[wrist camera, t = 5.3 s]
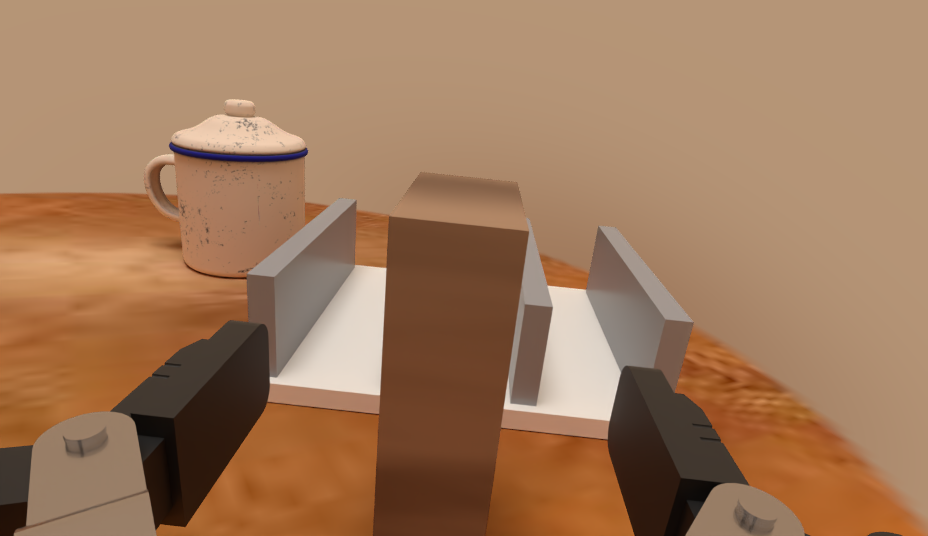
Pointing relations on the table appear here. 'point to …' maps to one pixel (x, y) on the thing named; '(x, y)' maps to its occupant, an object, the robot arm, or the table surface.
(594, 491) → the table surface
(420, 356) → the walnut board
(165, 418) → the robot arm
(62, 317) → the table surface
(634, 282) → the rack
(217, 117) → the teacup with lid
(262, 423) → the table surface
